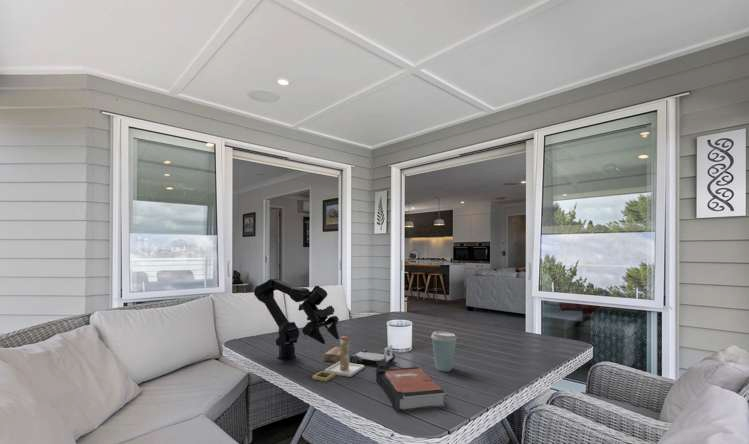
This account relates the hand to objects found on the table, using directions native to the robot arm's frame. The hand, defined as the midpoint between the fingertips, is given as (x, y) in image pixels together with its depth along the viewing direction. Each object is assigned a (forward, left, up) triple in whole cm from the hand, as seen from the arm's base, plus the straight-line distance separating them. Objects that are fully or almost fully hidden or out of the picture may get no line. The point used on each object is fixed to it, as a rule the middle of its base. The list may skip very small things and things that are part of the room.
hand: (331, 341), depth 156 cm
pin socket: (+4, -12, -11) cm, 17 cm away
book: (+39, -11, -12) cm, 42 cm away
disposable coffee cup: (+44, +18, -11) cm, 49 cm away
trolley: (+13, +13, -11) cm, 22 cm away
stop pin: (+7, -1, -11) cm, 13 cm away
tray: (+7, -1, -11) cm, 13 cm away
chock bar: (-5, +13, -11) cm, 18 cm away
